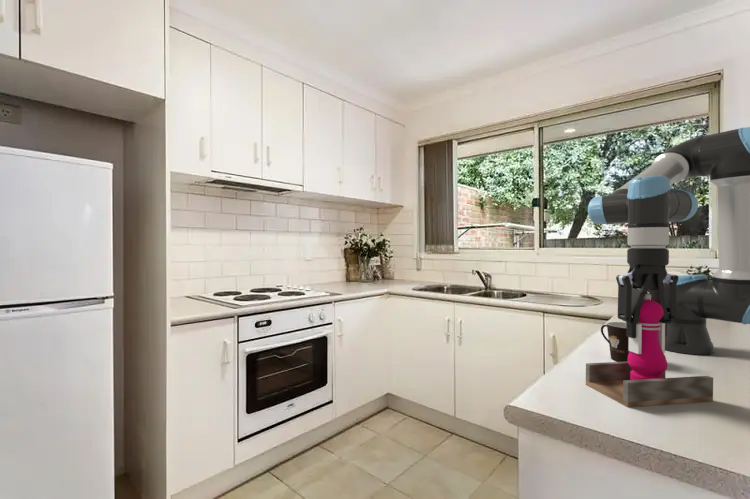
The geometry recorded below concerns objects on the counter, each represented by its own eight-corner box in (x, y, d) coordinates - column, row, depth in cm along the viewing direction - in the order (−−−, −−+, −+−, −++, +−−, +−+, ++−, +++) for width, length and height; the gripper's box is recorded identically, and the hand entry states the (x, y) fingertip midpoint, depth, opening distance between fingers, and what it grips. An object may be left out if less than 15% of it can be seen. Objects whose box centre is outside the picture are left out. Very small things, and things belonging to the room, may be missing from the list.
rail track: (660, 380, 92) (661, 359, 92) (712, 401, 80) (713, 377, 80) (585, 384, 90) (585, 363, 89) (627, 407, 77) (627, 382, 77)
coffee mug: (648, 365, 103) (649, 329, 103) (613, 363, 105) (614, 327, 104) (629, 353, 114) (629, 320, 114) (597, 352, 116) (598, 319, 116)
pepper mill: (631, 373, 90) (631, 289, 89) (670, 381, 85) (669, 292, 84) (624, 382, 85) (623, 293, 84) (664, 390, 80) (663, 295, 79)
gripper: (668, 246, 89) (667, 345, 90) (598, 247, 87) (597, 348, 87) (699, 247, 82) (698, 354, 82) (624, 247, 79) (623, 358, 80)
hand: (646, 351), depth 85 cm, fingers closed on pepper mill, 5 cm apart
